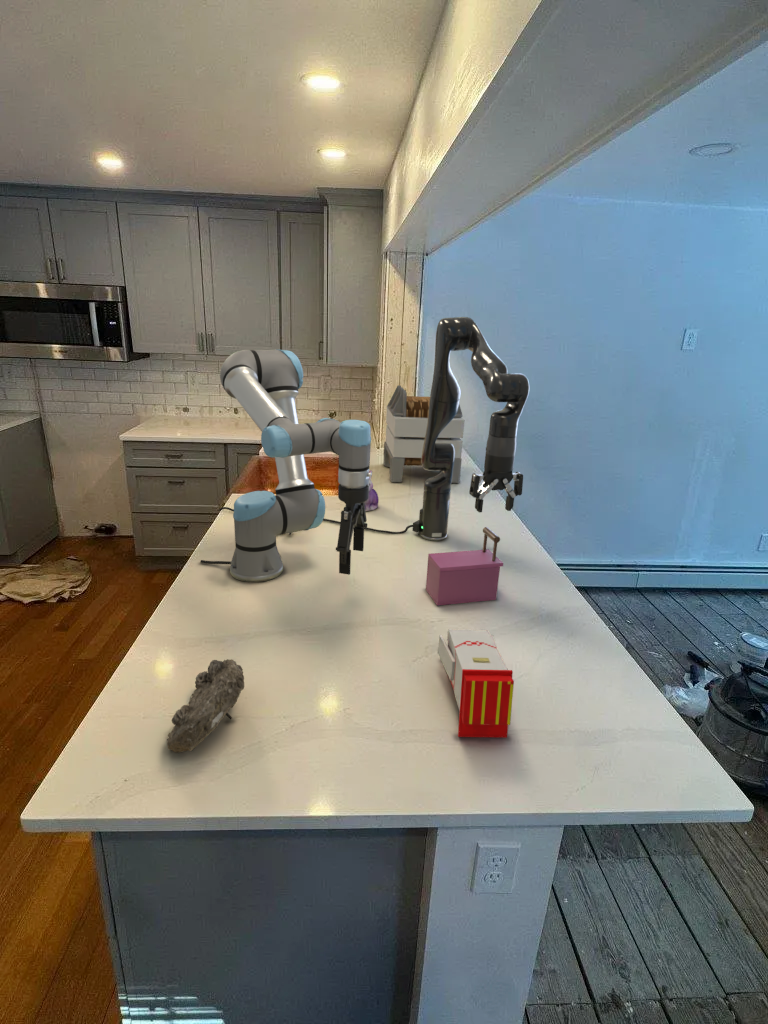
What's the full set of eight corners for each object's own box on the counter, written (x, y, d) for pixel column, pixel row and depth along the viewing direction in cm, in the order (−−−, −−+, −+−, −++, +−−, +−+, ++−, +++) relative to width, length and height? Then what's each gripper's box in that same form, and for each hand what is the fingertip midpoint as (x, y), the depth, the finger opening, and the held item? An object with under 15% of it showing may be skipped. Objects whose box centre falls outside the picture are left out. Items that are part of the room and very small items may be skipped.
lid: (488, 552, 162) (491, 525, 160) (503, 566, 154) (506, 537, 151) (428, 557, 158) (430, 528, 155) (439, 571, 149) (442, 542, 146)
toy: (488, 613, 130) (523, 677, 101) (484, 667, 133) (517, 744, 104) (435, 612, 130) (455, 676, 101) (432, 666, 133) (451, 743, 103)
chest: (481, 584, 166) (485, 553, 162) (496, 599, 157) (500, 566, 154) (425, 589, 161) (428, 557, 158) (437, 605, 153) (439, 571, 149)
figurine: (362, 513, 218) (363, 475, 213) (351, 505, 226) (352, 468, 221) (384, 510, 222) (385, 473, 217) (372, 502, 230) (374, 466, 225)
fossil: (192, 660, 117) (244, 628, 112) (224, 691, 120) (276, 661, 115) (142, 746, 98) (202, 712, 93) (182, 779, 101) (242, 748, 96)
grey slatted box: (382, 463, 289) (386, 382, 275) (445, 464, 293) (451, 384, 279) (390, 482, 257) (394, 392, 243) (460, 483, 261) (468, 394, 247)
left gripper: (355, 503, 127) (353, 586, 135) (379, 470, 150) (376, 543, 158) (323, 499, 128) (323, 581, 136) (352, 467, 151) (350, 539, 159)
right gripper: (481, 456, 142) (475, 517, 147) (532, 455, 146) (524, 514, 151) (469, 449, 149) (463, 507, 154) (518, 448, 152) (511, 505, 158)
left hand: (351, 561), depth 147 cm, fingers open, 13 cm apart
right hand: (493, 510), depth 153 cm, fingers open, 8 cm apart
